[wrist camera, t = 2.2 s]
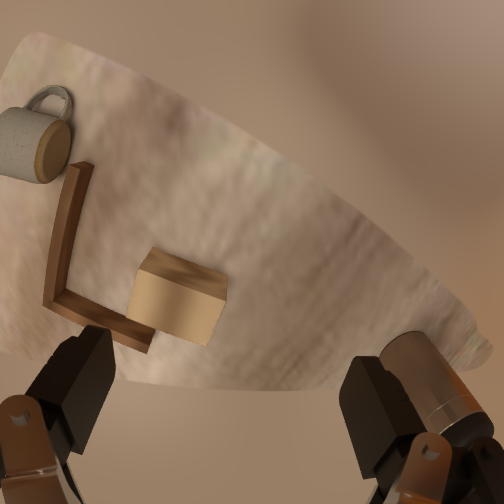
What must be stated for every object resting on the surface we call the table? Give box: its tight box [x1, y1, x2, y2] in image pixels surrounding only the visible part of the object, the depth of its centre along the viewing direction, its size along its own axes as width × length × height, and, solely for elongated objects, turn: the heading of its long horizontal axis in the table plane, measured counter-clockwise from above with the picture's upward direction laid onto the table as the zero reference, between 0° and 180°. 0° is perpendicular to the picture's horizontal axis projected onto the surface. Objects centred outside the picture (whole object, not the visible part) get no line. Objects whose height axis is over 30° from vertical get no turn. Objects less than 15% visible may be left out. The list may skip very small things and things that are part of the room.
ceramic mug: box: [0, 85, 72, 184], centre depth 25 cm, size 11×8×8 cm
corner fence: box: [43, 161, 156, 354], centre depth 32 cm, size 15×18×4 cm
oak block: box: [126, 248, 227, 346], centre depth 33 cm, size 9×6×6 cm, turn 67°
